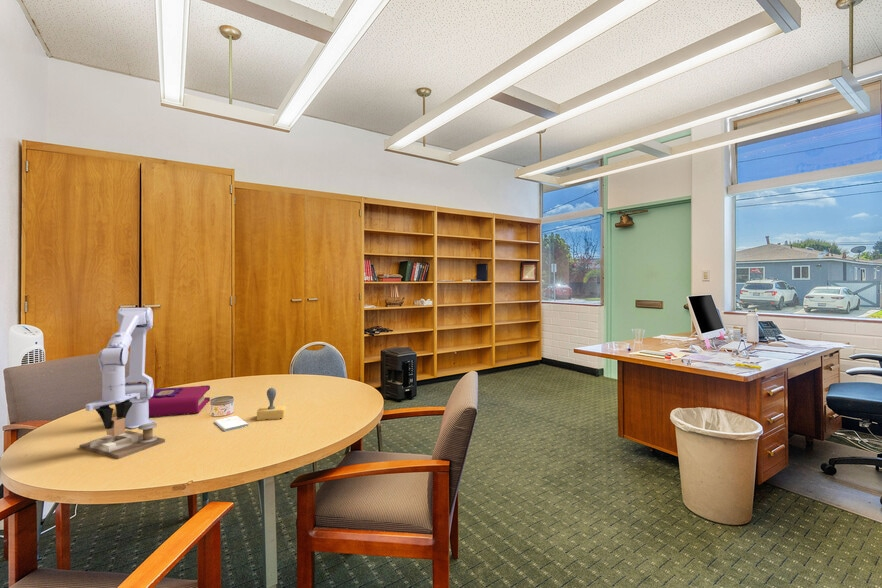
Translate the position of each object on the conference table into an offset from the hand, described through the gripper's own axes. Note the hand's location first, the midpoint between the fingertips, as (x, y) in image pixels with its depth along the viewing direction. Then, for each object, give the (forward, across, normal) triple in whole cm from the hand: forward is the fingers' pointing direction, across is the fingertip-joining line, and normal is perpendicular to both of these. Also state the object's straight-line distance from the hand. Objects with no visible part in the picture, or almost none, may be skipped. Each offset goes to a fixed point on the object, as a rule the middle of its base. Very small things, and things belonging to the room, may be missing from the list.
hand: (114, 426), depth 130 cm
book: (+8, +33, +24) cm, 41 cm away
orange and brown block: (+2, 0, -1) cm, 2 cm away
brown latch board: (+7, +2, 0) cm, 7 cm away
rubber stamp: (+7, +42, -24) cm, 49 cm away
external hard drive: (+8, +30, -16) cm, 35 cm away
